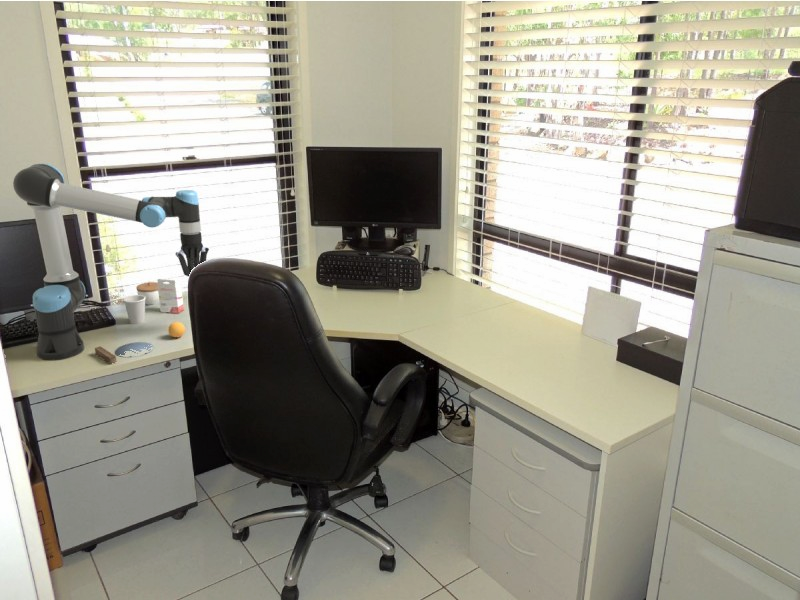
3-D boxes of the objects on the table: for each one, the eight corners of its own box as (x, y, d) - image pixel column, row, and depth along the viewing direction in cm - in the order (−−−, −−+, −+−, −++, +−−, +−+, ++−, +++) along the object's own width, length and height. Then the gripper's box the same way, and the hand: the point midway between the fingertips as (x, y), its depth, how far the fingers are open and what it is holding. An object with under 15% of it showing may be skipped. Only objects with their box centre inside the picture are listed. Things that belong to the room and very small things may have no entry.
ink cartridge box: (184, 309, 267) (181, 277, 262) (178, 313, 262) (175, 280, 257) (166, 308, 268) (162, 275, 263) (160, 312, 263) (156, 279, 258)
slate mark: (125, 360, 218) (125, 360, 218) (108, 349, 226) (108, 349, 226) (160, 349, 228) (160, 349, 227) (143, 339, 236) (143, 339, 236)
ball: (174, 341, 235) (172, 326, 233) (166, 336, 239) (164, 322, 237) (188, 336, 239) (187, 322, 237) (180, 332, 243) (179, 318, 241)
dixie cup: (123, 320, 254) (120, 297, 250) (144, 316, 259) (142, 293, 255) (129, 326, 248) (126, 303, 244) (151, 322, 252) (148, 299, 249)
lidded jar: (164, 297, 281) (161, 277, 278) (164, 305, 271) (162, 284, 268) (138, 299, 277) (136, 279, 274) (138, 307, 268) (135, 287, 265)
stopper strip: (110, 364, 215) (110, 357, 214) (95, 354, 223) (94, 347, 222) (116, 362, 216) (115, 356, 216) (101, 352, 224) (100, 346, 223)
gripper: (200, 227, 239) (205, 285, 247) (169, 233, 230) (175, 293, 238) (211, 231, 235) (216, 290, 243) (179, 236, 225) (186, 298, 233)
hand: (196, 291), depth 240 cm, fingers closed
